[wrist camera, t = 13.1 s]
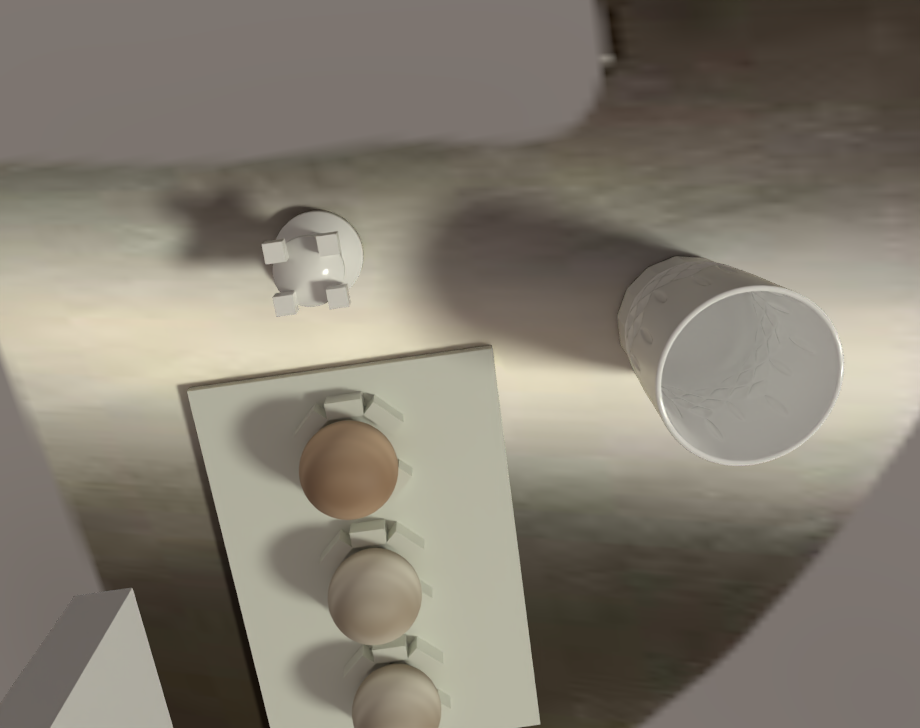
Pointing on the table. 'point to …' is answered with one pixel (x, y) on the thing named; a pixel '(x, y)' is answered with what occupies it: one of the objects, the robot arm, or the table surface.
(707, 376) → the white cup
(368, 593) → the egg cream mid
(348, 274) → the egg cup
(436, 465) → the tray
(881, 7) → the table surface
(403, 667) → the pale ball
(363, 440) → the light brown ball
